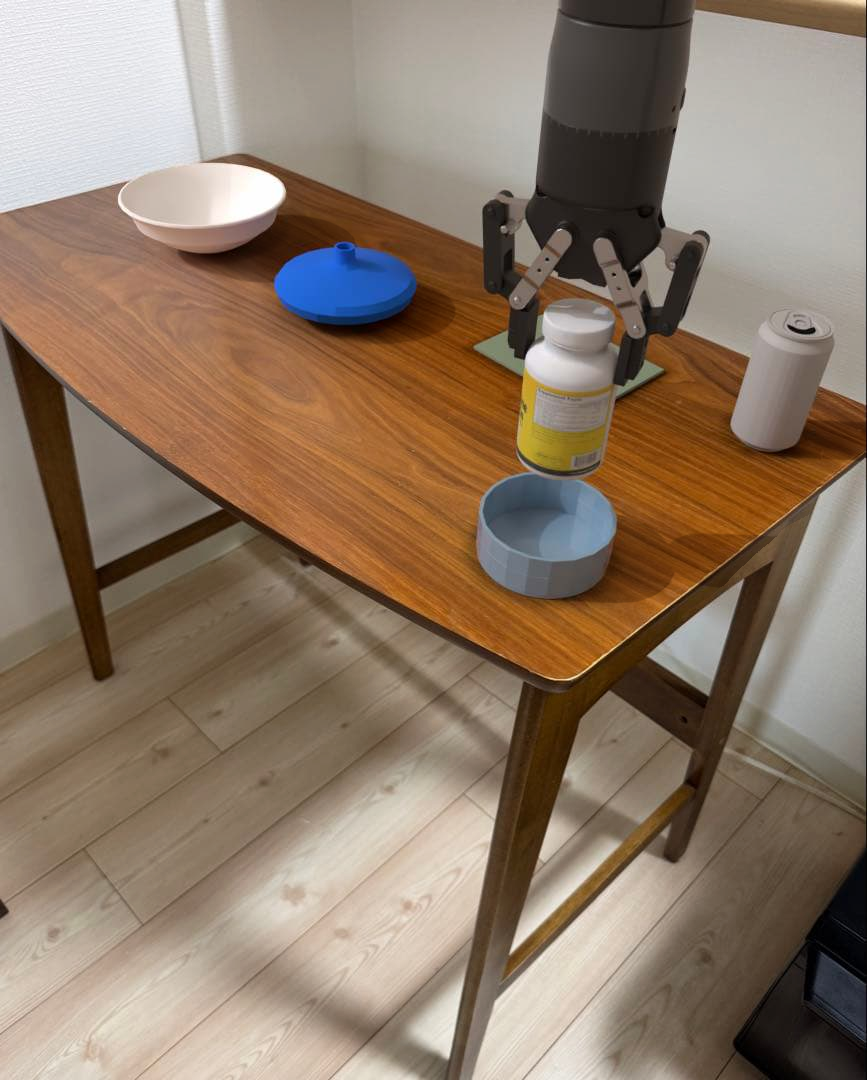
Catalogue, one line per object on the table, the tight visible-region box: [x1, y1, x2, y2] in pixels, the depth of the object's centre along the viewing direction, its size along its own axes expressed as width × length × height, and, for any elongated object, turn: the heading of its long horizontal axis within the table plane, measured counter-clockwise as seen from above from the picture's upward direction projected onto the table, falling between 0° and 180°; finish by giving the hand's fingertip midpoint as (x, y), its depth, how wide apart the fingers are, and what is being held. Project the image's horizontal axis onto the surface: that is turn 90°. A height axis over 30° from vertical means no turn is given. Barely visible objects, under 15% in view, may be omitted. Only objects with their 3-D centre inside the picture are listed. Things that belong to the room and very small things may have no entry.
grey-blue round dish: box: [475, 471, 618, 600], centre depth 71 cm, size 11×11×4 cm
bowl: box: [117, 162, 287, 254], centre depth 111 cm, size 20×20×6 cm
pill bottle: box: [515, 297, 619, 481], centre depth 62 cm, size 6×6×12 cm
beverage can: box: [730, 307, 836, 453], centre depth 82 cm, size 6×6×12 cm
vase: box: [273, 241, 418, 326], centre depth 99 cm, size 16×16×7 cm
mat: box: [473, 313, 665, 401], centre depth 94 cm, size 16×12×1 cm
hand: (572, 366), depth 61 cm, fingers closed on pill bottle, 6 cm apart
